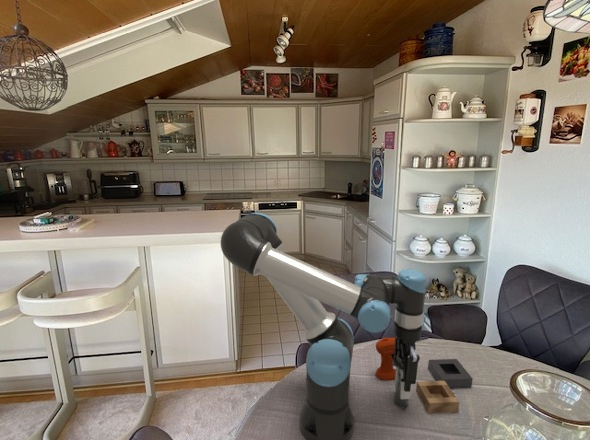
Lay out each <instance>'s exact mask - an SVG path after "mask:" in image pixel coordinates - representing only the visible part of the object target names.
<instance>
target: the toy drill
mask: <svg viewBox="0 0 590 440" xmlns="http://www.w3.org/2000/svg"><path fill="white" fill-rule="evenodd" d="M428 339H429V337H428V336H421V338H420V339H419V340H418V341H416V342H415V343H417V342H421V341H425V340H426V341H427V340H428ZM394 345H395V337H383V338H381V339H378V341H377V342H376V343H375V350H376V351H377V353H378V354H380V361H381V362H380V365H379V367H378V368H376V371H375V376H376V378H377V379H379V380H381V381H395V376H396V368H394V366H393V364H392V360H394Z"/></svg>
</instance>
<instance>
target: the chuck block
mask: <svg viewBox="0 0 590 440" xmlns="http://www.w3.org/2000/svg"><path fill="white" fill-rule="evenodd" d="M427 362H428V363H427V370H428V371H429V372H430V374H431V376H432V377H433V379H434V381H445V382H446V383H447V385H448V386H449V388H450V389H451V390H453V389H472V387H473V380H474V379H473V377H472V375H470V373H469V372H468V371H467V369H466V368H465V367H464V366H463V364H461V363H460V361H459V360H458V359H457V358H444V359H443V358H442V359H440V358H439V359H428V361H427Z"/></svg>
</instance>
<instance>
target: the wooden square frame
mask: <svg viewBox="0 0 590 440" xmlns="http://www.w3.org/2000/svg"><path fill="white" fill-rule="evenodd" d="M415 389H416V390H415V392H416V394H417V395H418V397H419V399H420V401H421V403H422V405H423V407H424V408H425V410H426V412H427V413H428V414H439V413H441V414H442V413H444V414H445V413H458V412H459V408H460V400H459V399H458V397H457V396H456V395H455V393H454V392H453V390H452V389H450V388H449V386H448V385H447V383H446V382H445V381H436V380H427V381H425V380H424V381H416V388H415Z"/></svg>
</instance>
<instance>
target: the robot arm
mask: <svg viewBox="0 0 590 440" xmlns="http://www.w3.org/2000/svg"><path fill="white" fill-rule="evenodd" d="M277 229H278V228H277V226H276V223H275V221H274V220H273V219H272V218H271V217H270V216H269V215H267V214H265V213H261V212H251V213H248V214H246V215H244V216H242V217H241V218H239V219H238V220H237V221H235V222H232V223H231V224H229V225H228V226H227V227H226V228H225V229H224V230H223V232H222V233H221V236H220V248H221V252H222V254H223V255H224V257H225V258H226V260H227V261H228V262H230V263H231V264H232V265H233V266H235V267H236V268H238V269H239V270H241V271H243V272H244V273H245V272H246V273H247V274H249V275H252V276H254V277H256V276H259V275H261V276H264V277H265V278H266V279H267V280H268V281H269V283H271V285H272V286H273V288H274V289H275V291H276V292H277V293H278V295H279V296H280V297H281V299H282V300H283V301H284V303H285V304H286V306H287V307H288V308H289V310H290V311H291V312H292V314H293V315H294V316H295V318H296V319H297V320H298V321H299V323H300V325H301V326H302V327H303V329H304V333H303V334H304V335H303V336H304V338H305V340H306V341H307V343H308V344H309V345H310V347H309V348H308V351H307V354H306V358H305V364H306V365H305V366H306V367H305V369H306V374H305V375H306V377H305V378H306V389H305V390H306V392H305V393H306V394H305V397H306V398H305V400H304V404H303V406H302V408H301V410H300V414H299V428H300V431H301V434H302V435H303V436H304V438H305V439H306V440H350V439H351V438H352V436H353V433H354V428H355V427H354V426H355V419H354V414H353V413H352V409H351V406H350V403H349V397H350V381H351V380H350V378H351V377H350V376H351V367H352V359H353V353H354V352H353V351H354V345H355V338H354V333H353V330H352V327H351V326H350V325H349V323H348V322H346V321H345V319H342V318H339V317H338V316H336V315H337V314H335V313H333V312H330V311H327V310H326V309H325V307H324V306H323V305H322V303H323V304H326V305H328V306H330V307H331V308H332V307H333V308H335V309H336V310H339V311H341V312H343V313H346V314H347V315H349V316H352V317H353V318H355V319H357V320H358V322H359V324H360V326H361V327H362V328H363V330H365V331H367V332H368V333H381V332H383V331H385V330H386V329H387V328H388V326H390V321H391V314H392V313H391V307H390V304H391V305H394V304H395V308H394V310H395V311H394V325H393V326H394V328H393V334H394V338H395V345H394V360H397V357H398V356H402V358H403V379H401V391H400V399H408V400H410V399H411V392H412V391H411V389H412V385H415V384H417V376H418V375H417V374H418V366H419V361H420V355H419V354H417V353H416V352H415V351H416V348H417V347H416V343H417V342H416V341H418V340H419V339H420V338H421V337H422V330H423V326H422V325H423V319H424V318H423V317H424V316H425V312H424V309H425V308H424V307H425V299H426V292H427V289H426V288H427V287H426V286H427V285H426V284H427V276H426V275H425V274H424V273H423V272H421V271H419V270H417V269H412V268H411V269H410V268H408V269H401V270H399V272H398V275H397V276H385V275H376V274H369V273H367V274H363V273H362V274H359V273H358V274H356V276H355V277H354V283H352V282H351V281H348V280H346V279H343V278H341V277H339V276H336V275H334V274H332V273H330V272H328V271H325V270H323V269H321V268H319V267H316V266H314V265H313V264H311V263H310V264H309V263H308V262H305V261H303V260H300V259H298V258H297V257H294V256H292V255H290V254H287V253H285V251H283V247H284V242H283V241H282V240H281V238H280V237H279V235H278V233H277ZM418 342H419V341H418ZM395 367H396V368H395V369H396V375H397V366H395ZM395 387H396V376H395V380H394V388H395Z"/></svg>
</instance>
